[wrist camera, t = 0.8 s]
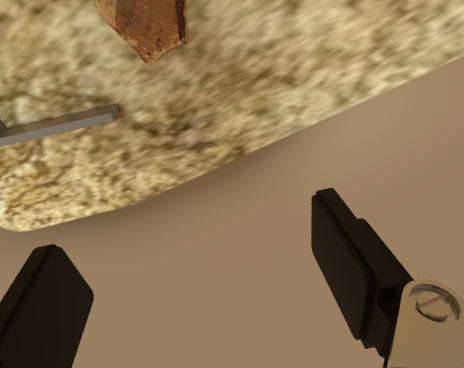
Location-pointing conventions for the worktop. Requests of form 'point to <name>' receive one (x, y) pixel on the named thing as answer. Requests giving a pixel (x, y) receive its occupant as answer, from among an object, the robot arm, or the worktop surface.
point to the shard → (147, 24)
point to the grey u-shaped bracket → (57, 125)
